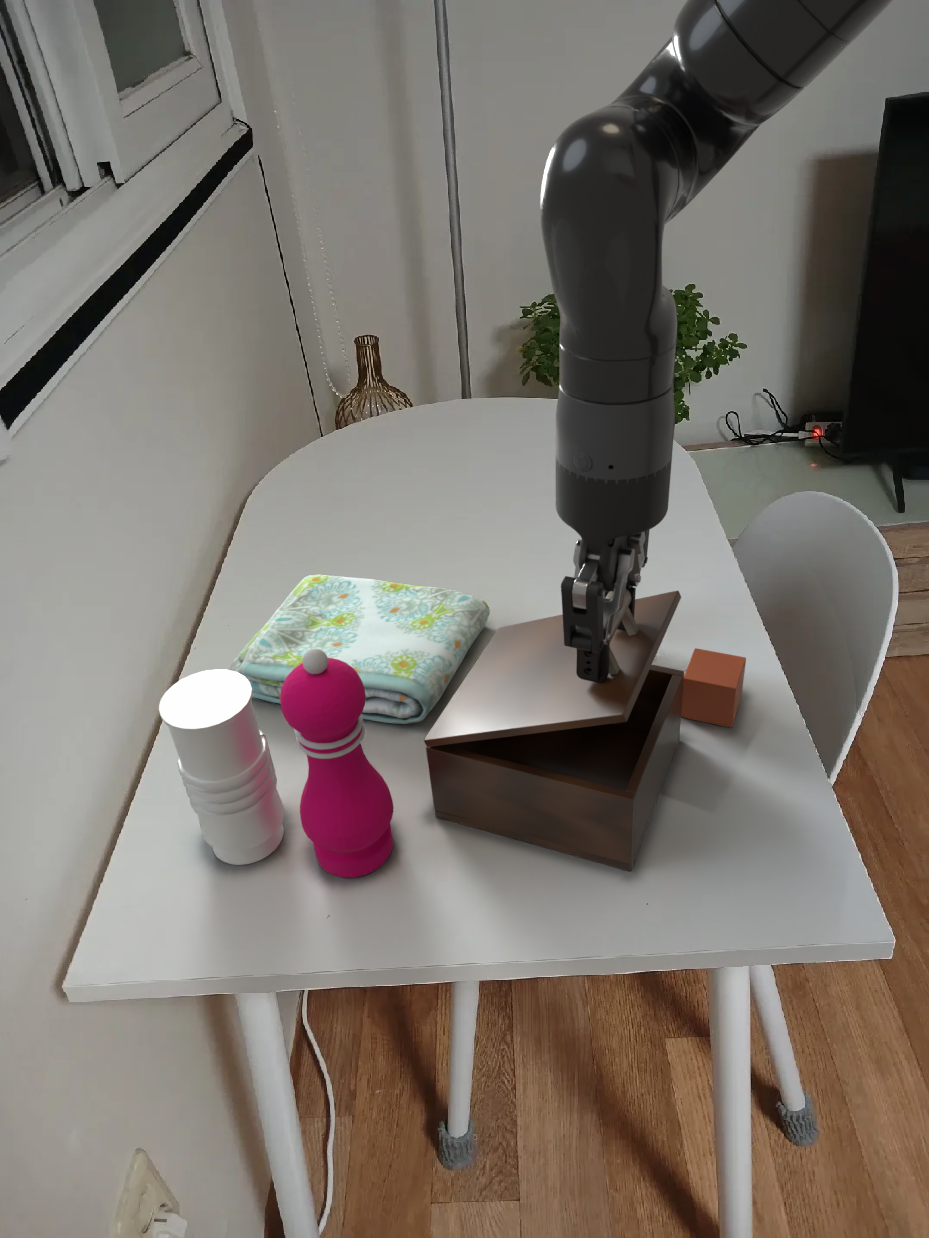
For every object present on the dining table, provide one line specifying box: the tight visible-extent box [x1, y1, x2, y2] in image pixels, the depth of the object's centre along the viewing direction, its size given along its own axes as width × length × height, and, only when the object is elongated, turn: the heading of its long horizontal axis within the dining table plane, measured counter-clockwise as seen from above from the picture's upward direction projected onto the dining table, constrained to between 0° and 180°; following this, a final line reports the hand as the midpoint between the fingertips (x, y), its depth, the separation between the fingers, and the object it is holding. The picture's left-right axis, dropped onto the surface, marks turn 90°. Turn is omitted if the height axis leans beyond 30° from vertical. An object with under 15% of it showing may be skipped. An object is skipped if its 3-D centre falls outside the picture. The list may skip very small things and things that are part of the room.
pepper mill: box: [280, 649, 394, 878], centre depth 71 cm, size 7×7×20 cm
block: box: [681, 647, 747, 729], centre depth 86 cm, size 5×5×5 cm
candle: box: [158, 668, 285, 866], centre depth 74 cm, size 7×7×15 cm
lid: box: [423, 589, 682, 747], centre depth 74 cm, size 17×16×5 cm
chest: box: [425, 664, 685, 872], centre depth 79 cm, size 17×16×8 cm
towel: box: [229, 574, 491, 725], centre depth 95 cm, size 18×21×5 cm
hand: (606, 650), depth 72 cm, fingers closed on lid, 6 cm apart
